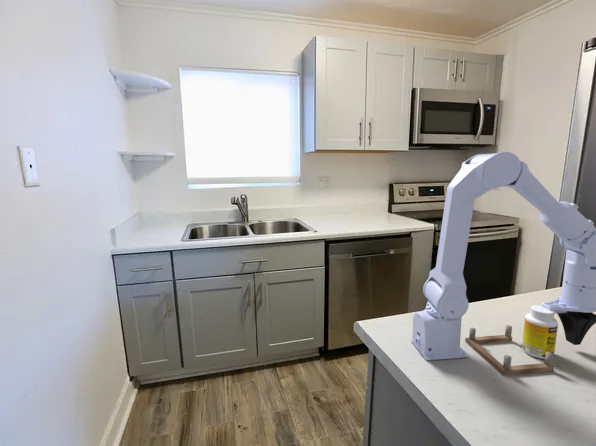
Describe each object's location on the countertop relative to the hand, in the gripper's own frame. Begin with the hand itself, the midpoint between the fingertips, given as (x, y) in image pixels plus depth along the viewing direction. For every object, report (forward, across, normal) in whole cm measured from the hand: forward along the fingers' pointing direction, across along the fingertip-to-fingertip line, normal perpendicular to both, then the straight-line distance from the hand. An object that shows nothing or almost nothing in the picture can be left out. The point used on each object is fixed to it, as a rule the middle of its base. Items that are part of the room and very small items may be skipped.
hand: (572, 342), depth 67 cm
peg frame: (+2, +15, 0) cm, 15 cm away
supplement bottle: (+2, +8, 0) cm, 8 cm away
